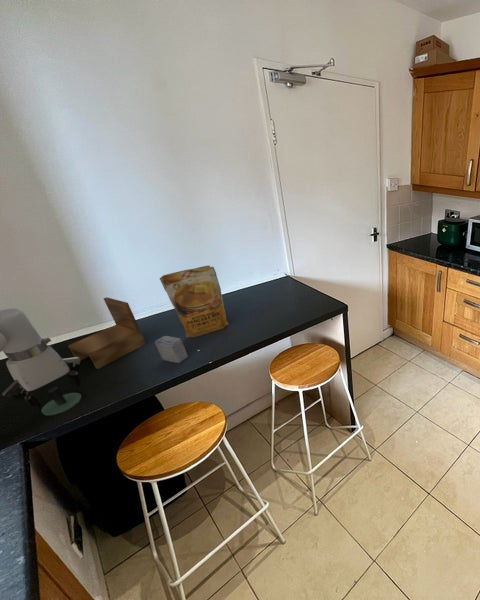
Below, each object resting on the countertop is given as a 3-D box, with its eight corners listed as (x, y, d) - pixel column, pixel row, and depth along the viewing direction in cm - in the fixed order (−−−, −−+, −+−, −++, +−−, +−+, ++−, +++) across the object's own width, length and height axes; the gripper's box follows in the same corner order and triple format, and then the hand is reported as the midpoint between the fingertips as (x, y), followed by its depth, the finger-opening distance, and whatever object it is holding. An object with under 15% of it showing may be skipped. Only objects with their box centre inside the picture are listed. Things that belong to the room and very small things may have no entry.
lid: (52, 419, 93) (41, 403, 90) (35, 410, 96) (24, 395, 93) (88, 398, 100) (79, 383, 98) (71, 391, 103) (62, 376, 101)
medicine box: (188, 356, 120) (181, 338, 116) (178, 364, 116) (170, 344, 112) (172, 353, 121) (164, 335, 118) (162, 360, 118) (153, 341, 114)
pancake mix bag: (181, 334, 133) (157, 273, 121) (229, 320, 144) (212, 263, 131) (183, 341, 129) (159, 279, 116) (233, 326, 139) (216, 267, 127)
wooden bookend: (97, 369, 113) (72, 324, 105) (76, 361, 118) (50, 317, 109) (146, 343, 127) (127, 302, 119) (126, 337, 132) (106, 297, 123)
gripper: (57, 332, 97) (84, 374, 105) (-25, 366, 83) (13, 412, 91) (72, 337, 95) (97, 380, 103) (-11, 372, 80) (27, 419, 88)
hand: (58, 395), depth 97 cm, fingers open, 9 cm apart
